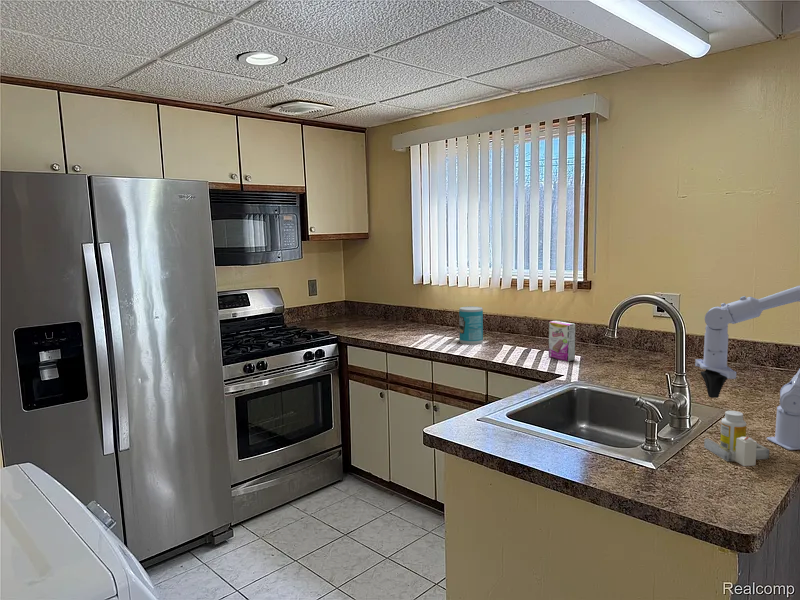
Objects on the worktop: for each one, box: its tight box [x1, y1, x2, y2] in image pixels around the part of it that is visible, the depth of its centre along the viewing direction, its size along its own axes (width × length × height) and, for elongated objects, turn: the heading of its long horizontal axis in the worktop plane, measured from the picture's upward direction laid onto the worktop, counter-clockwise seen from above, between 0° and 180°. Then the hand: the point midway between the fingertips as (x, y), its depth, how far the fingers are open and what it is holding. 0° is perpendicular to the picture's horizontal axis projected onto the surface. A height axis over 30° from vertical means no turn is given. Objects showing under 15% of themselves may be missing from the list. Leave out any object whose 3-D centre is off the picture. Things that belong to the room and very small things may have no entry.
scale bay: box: [703, 438, 770, 463], centre depth 140 cm, size 11×9×2 cm
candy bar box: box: [548, 320, 576, 363], centre depth 243 cm, size 11×5×16 cm, turn 34°
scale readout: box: [734, 436, 758, 467], centre depth 134 cm, size 3×3×6 cm
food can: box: [458, 305, 484, 346], centre depth 282 cm, size 12×12×18 cm
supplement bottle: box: [719, 410, 747, 450], centre depth 141 cm, size 6×6×10 cm
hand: (713, 397), depth 154 cm, fingers closed
